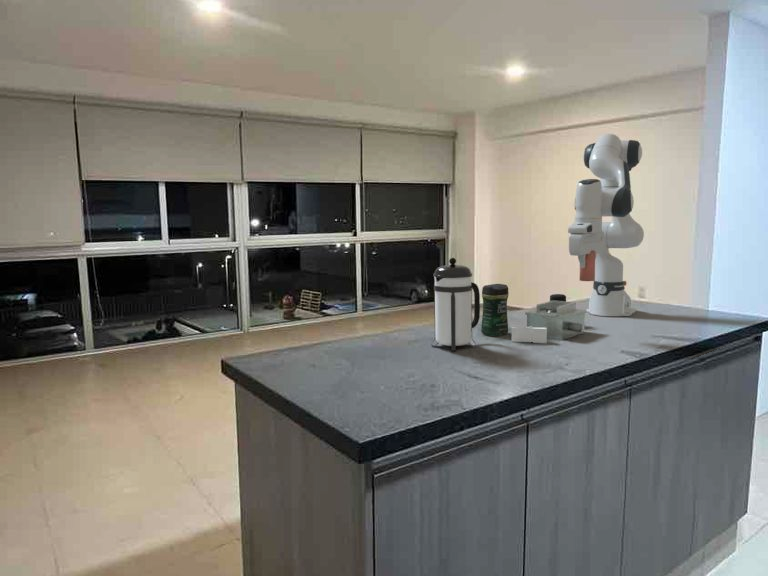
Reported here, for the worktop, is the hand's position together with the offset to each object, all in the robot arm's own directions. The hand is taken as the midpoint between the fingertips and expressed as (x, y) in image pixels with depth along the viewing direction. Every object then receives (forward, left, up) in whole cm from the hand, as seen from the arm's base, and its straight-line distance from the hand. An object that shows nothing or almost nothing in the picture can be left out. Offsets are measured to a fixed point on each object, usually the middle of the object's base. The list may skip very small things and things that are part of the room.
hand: (587, 266), depth 190 cm
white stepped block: (+20, -10, -26) cm, 34 cm away
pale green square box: (+3, -8, -25) cm, 26 cm away
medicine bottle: (-11, -17, -25) cm, 33 cm away
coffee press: (+41, -26, -25) cm, 54 cm away
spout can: (0, 0, -5) cm, 5 cm away
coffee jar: (+18, -26, -25) cm, 40 cm away
